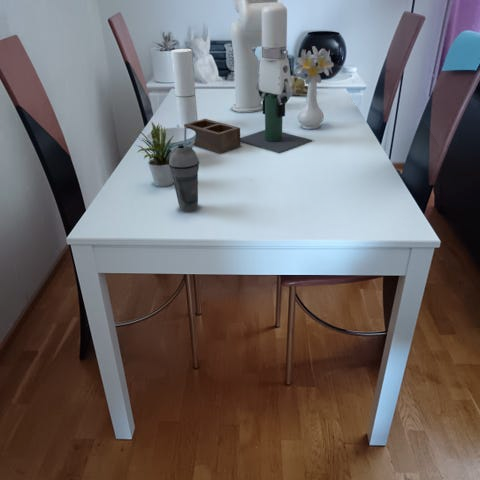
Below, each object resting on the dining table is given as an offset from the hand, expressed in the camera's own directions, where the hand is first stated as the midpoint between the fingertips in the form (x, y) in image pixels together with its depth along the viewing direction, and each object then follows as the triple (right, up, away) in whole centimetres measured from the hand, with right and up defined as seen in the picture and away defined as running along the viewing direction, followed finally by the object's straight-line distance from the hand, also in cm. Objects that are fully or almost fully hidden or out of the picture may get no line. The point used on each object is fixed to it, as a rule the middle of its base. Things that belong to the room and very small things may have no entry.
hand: (273, 114), depth 160 cm
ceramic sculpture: (+13, +32, +56) cm, 66 cm away
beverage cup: (-24, -39, -36) cm, 59 cm away
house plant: (-34, -28, -21) cm, 49 cm away
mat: (0, -7, +5) cm, 8 cm away
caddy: (-20, -8, +4) cm, 22 cm away
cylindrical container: (-30, +5, +23) cm, 39 cm away
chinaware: (-32, -17, -7) cm, 37 cm away
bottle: (0, -6, +5) cm, 8 cm away
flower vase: (+15, +2, +16) cm, 22 cm away
